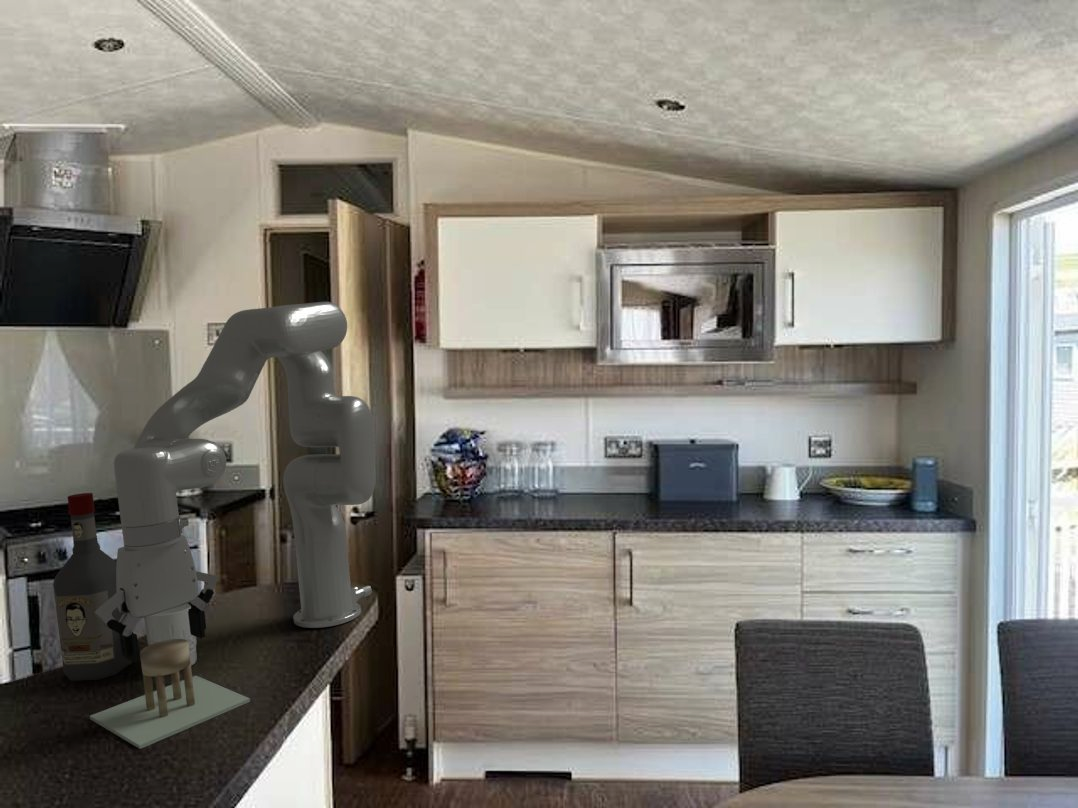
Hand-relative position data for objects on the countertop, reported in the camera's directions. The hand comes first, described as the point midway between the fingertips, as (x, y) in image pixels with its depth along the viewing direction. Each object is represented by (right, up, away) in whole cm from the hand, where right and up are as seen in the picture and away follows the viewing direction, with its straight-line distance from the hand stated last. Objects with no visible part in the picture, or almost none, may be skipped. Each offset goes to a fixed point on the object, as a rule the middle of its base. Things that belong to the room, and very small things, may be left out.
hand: (166, 647), depth 116 cm
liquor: (-20, -10, +18) cm, 29 cm away
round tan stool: (0, -9, 0) cm, 9 cm away
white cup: (-7, -9, +18) cm, 21 cm away
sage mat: (0, -9, 0) cm, 9 cm away
